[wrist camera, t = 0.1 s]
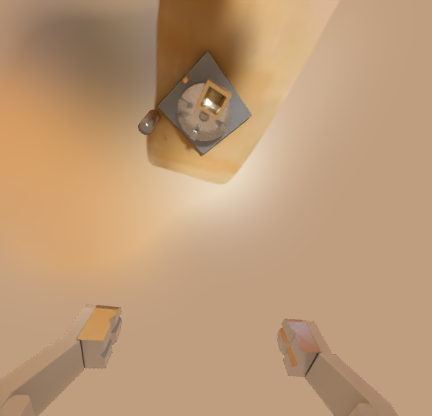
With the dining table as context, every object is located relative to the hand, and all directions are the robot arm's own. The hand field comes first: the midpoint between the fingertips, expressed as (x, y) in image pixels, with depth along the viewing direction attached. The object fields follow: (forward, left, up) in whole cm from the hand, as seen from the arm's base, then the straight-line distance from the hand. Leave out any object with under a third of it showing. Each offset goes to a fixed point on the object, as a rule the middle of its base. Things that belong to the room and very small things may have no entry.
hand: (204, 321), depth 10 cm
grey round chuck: (+4, +2, -50) cm, 50 cm away
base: (+5, +2, -52) cm, 52 cm away
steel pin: (+16, -6, -52) cm, 55 cm away
